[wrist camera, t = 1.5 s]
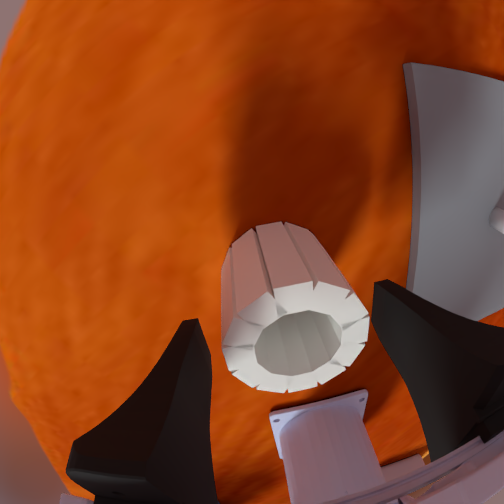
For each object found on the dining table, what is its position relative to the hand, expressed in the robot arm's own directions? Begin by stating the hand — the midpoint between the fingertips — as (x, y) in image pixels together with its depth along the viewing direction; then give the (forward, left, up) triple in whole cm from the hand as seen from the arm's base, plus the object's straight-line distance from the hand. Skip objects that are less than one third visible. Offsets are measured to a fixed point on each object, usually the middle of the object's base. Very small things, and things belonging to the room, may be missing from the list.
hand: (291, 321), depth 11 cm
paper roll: (0, 0, -4) cm, 4 cm away
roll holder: (+1, -15, -4) cm, 16 cm away
